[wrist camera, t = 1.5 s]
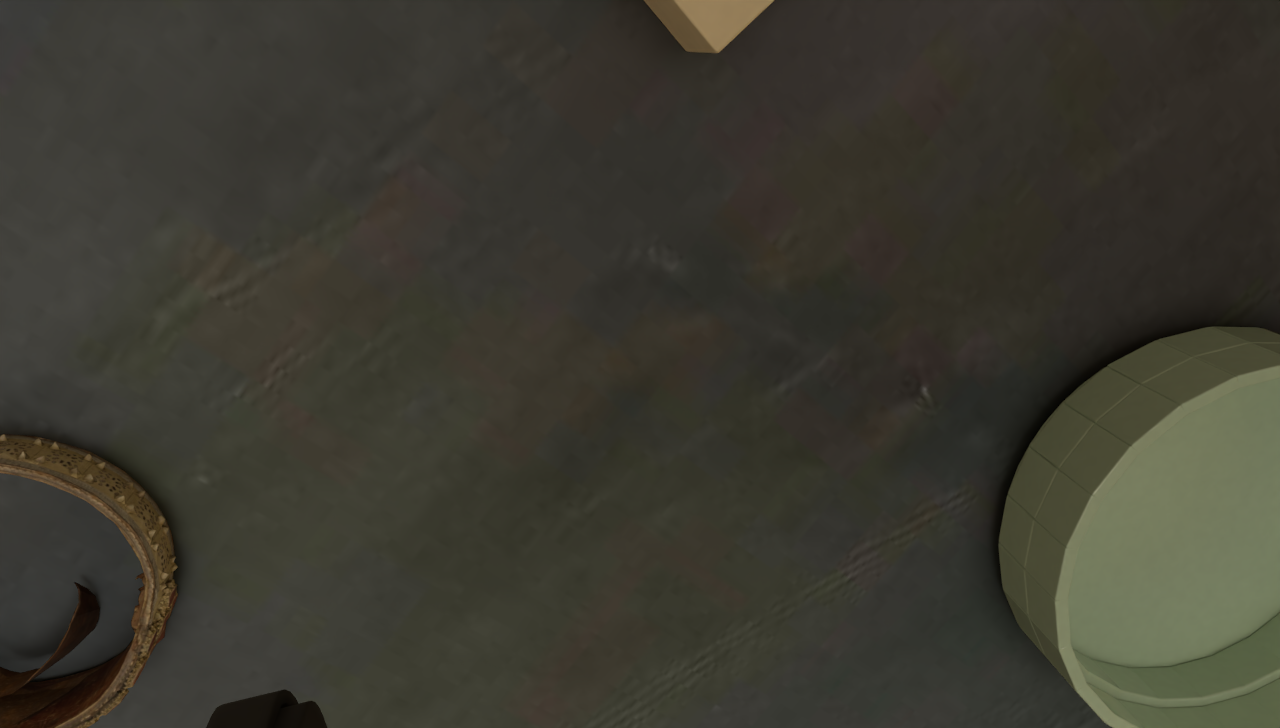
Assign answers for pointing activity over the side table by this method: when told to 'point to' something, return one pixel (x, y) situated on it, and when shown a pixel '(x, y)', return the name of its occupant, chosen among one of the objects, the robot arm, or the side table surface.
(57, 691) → the bracelet
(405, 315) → the side table surface
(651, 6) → the tan rectangular block
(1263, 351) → the bowl
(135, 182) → the side table surface
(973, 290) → the side table surface
